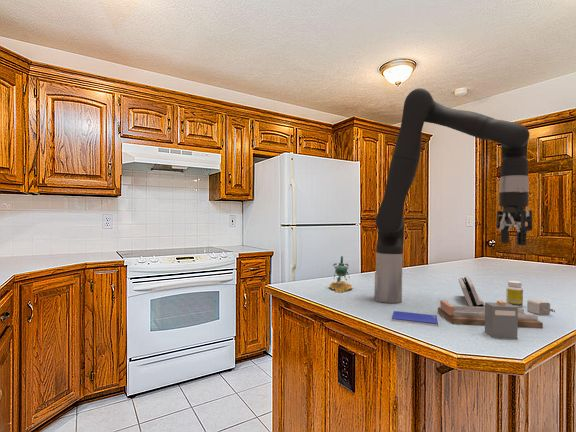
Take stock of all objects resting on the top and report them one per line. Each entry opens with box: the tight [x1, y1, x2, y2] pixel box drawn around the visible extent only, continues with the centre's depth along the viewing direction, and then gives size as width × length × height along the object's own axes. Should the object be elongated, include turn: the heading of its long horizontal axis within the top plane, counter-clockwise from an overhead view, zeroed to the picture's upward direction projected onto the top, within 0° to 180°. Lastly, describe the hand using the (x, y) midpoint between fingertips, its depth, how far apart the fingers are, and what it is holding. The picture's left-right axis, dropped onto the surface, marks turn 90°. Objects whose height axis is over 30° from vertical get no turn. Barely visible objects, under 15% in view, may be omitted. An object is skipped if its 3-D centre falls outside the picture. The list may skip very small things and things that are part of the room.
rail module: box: [484, 300, 519, 340], centre depth 87 cm, size 6×4×9 cm
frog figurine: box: [329, 255, 353, 294], centre depth 140 cm, size 10×18×15 cm, turn 164°
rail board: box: [437, 299, 544, 329], centre depth 100 cm, size 24×12×4 cm, turn 84°
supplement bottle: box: [505, 280, 524, 308], centre depth 117 cm, size 5×5×8 cm
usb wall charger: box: [526, 298, 556, 316], centre depth 107 cm, size 4×7×4 cm, turn 8°
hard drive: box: [391, 310, 439, 327], centre depth 99 cm, size 2×8×12 cm
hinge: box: [457, 275, 485, 307], centre depth 123 cm, size 17×5×10 cm, turn 157°
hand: (512, 243), depth 103 cm, fingers open, 8 cm apart
